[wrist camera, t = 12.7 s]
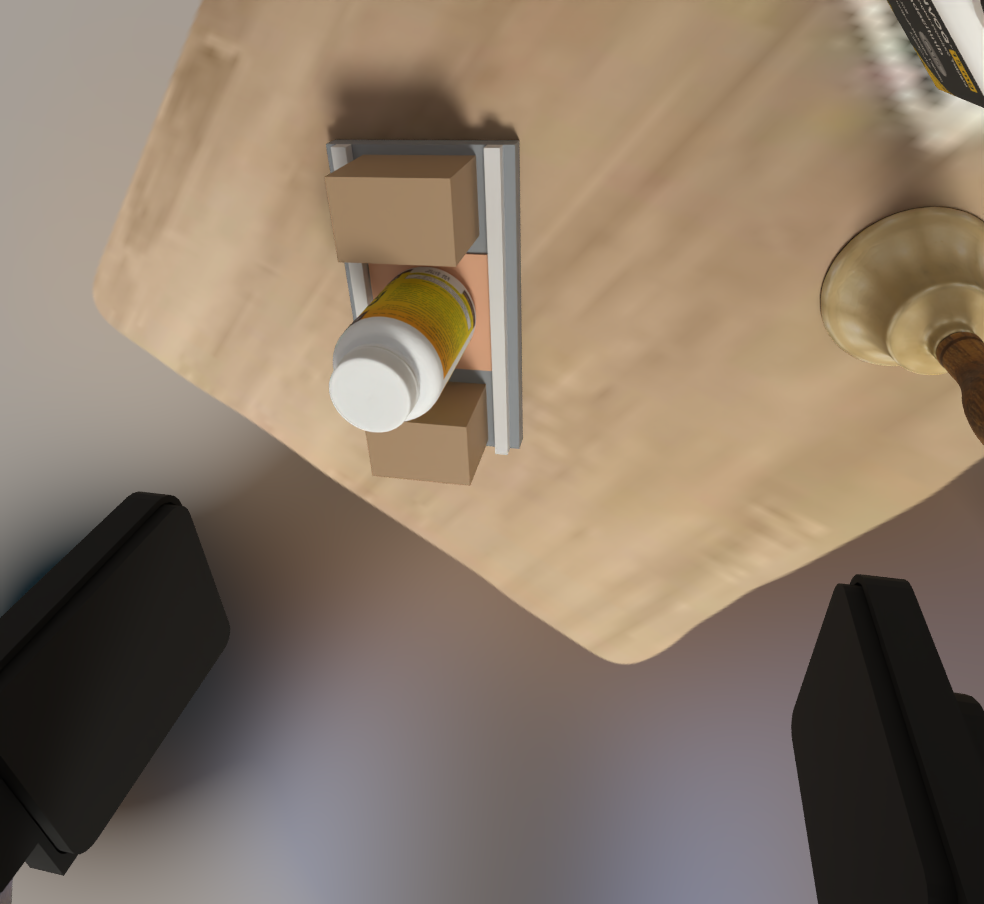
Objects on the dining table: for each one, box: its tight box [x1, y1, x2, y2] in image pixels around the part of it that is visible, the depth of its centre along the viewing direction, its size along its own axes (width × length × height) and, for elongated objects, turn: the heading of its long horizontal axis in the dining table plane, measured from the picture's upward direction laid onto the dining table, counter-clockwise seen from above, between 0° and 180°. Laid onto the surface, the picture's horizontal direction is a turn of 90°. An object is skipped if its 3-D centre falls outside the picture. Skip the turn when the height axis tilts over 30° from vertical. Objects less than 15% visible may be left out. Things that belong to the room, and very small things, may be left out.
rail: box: [324, 140, 523, 486], centre depth 38 cm, size 18×10×6 cm, turn 2°
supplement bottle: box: [329, 267, 476, 432], centre depth 36 cm, size 6×6×10 cm
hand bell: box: [821, 207, 984, 445], centre depth 29 cm, size 8×8×16 cm
